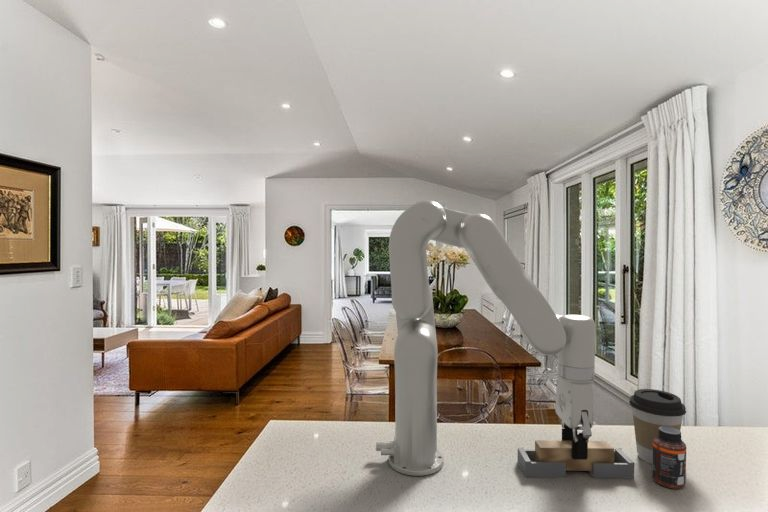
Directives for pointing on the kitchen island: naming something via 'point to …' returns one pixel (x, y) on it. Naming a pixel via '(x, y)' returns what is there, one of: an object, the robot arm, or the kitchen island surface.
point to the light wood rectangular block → (563, 451)
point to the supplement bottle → (669, 458)
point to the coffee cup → (654, 417)
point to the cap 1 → (539, 465)
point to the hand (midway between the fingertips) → (574, 451)
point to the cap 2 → (615, 467)
